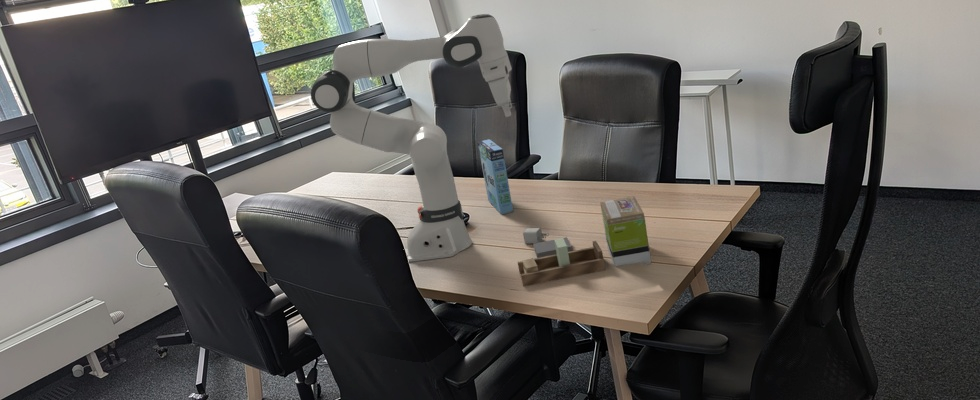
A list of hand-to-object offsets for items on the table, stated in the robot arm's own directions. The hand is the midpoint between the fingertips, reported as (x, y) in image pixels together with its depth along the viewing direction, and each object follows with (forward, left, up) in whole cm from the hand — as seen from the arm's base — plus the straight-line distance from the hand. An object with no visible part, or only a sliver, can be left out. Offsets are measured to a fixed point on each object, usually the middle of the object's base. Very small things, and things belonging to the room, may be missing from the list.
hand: (509, 112), depth 225 cm
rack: (+4, -37, -39) cm, 54 cm away
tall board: (+5, -37, -38) cm, 54 cm away
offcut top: (-4, -37, -36) cm, 52 cm away
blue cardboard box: (-7, +34, -39) cm, 52 cm away
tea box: (+23, -34, -39) cm, 57 cm away
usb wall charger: (+1, -9, -39) cm, 40 cm away
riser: (+4, -22, -39) cm, 45 cm away
